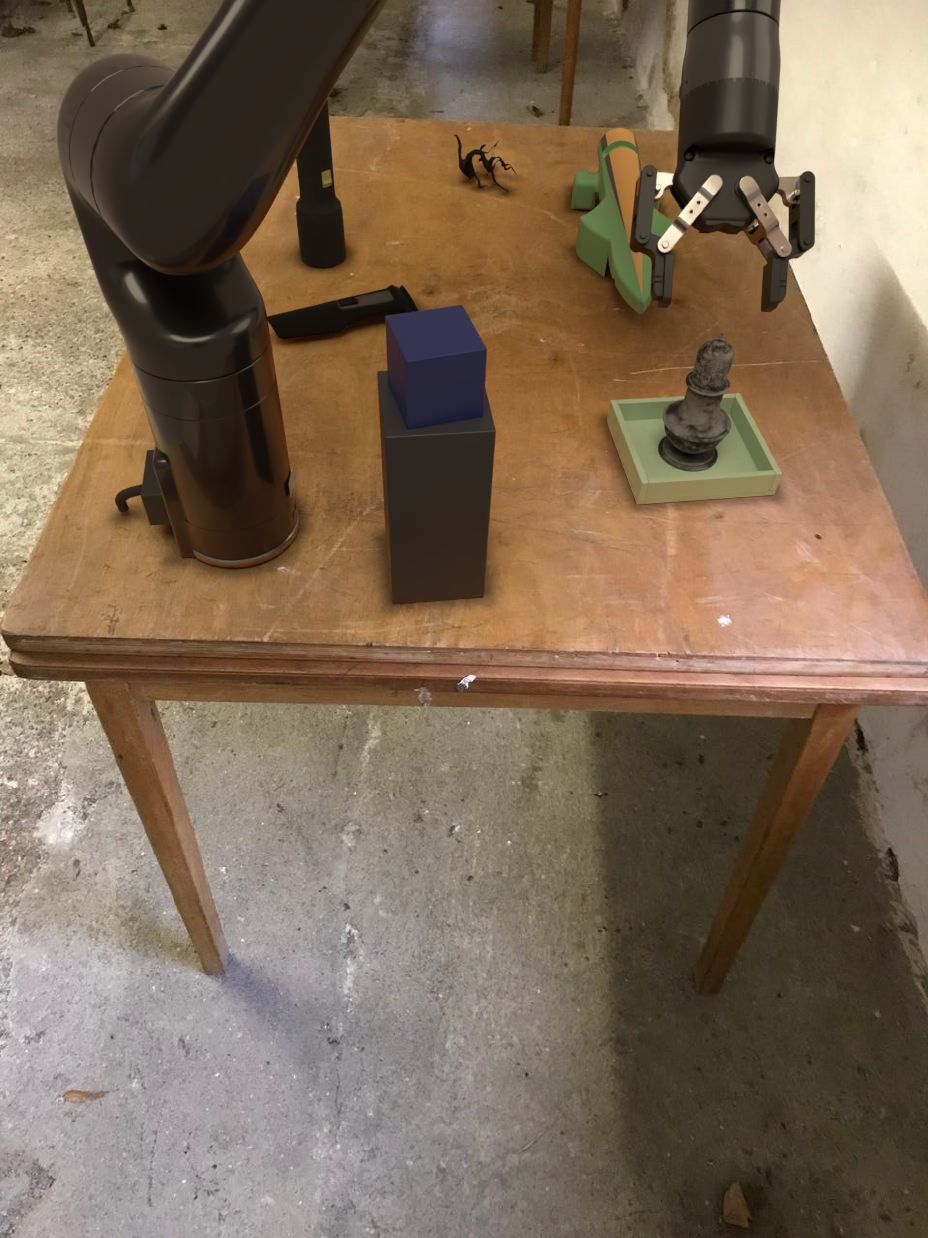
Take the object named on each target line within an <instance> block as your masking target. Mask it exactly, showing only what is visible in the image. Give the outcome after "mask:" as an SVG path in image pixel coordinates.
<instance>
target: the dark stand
mask: <svg viewBox="0 0 928 1238" xmlns="http://www.w3.org/2000/svg"><path fill="white" fill-rule="evenodd" d="M376 376H377V377H376V378H377V397H378V415H379V418H378V419H379V437H380V438H379V439H380V456H381V457H380V458H381V476H382V494H383V495H382V497H383V515H384V516H383V517H384V535H385V548H386V556H387V564H388V574H389V582H390V583H389V584H390V592H391V601H392V605H400V604H412V603H426V602H437V601H438V602H439V601H449V600H462V599H476V598H483V597H484V596H485V585H486V571H487V557H488V544H489V530H490V516H491V505H492V489H493V479H494V466H495V465H494V463H495V449H496V439H497V437H496V436H497V430H496V425H495V422H494V417H493V413H492V408H491V405H490V401H489V396H488V392H487V388H486V387H485V394H484V410H483V417H478V418H472V419H466V420H461V421H455V422H449V423H443V424H438V425H432V426H426V427H420V428H415V429H409V430H408V429H407V426H406V424H405V422H404V419H403V417H402V415H401V412H400V410H399V408H398V405H397V403H396V401H395V398H394V396H393V394H392V391H391V389H390V387H389V384H388V372H387V370H377V372H376Z"/></svg>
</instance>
